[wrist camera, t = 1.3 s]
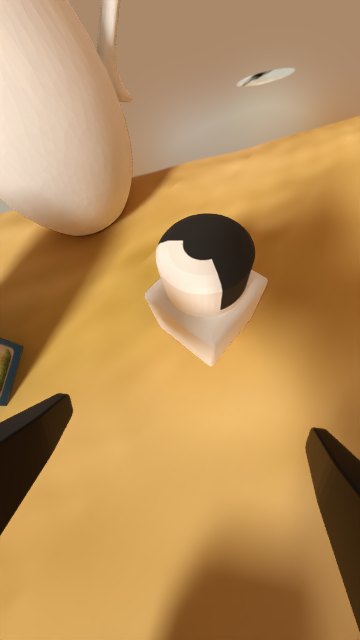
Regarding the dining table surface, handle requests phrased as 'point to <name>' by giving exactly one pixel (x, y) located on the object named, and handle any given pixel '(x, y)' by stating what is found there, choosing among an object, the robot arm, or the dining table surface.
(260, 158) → the dining table surface
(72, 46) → the pitcher
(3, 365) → the milk carton
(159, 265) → the medicine bottle
